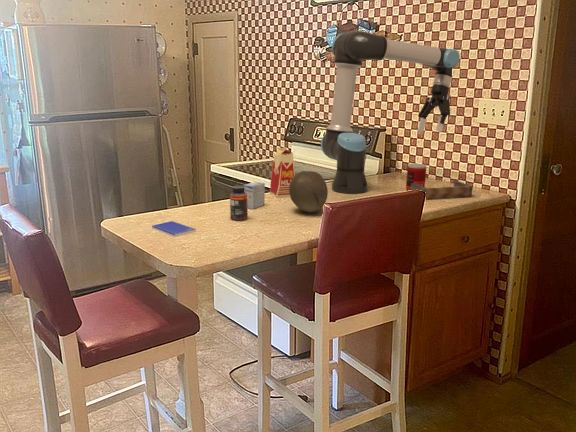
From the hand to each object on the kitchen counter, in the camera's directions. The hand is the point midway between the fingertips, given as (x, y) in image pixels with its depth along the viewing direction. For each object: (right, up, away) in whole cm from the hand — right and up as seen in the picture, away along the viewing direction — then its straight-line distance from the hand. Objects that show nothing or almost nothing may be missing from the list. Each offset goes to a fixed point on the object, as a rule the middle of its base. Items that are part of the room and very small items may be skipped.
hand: (429, 131), depth 258 cm
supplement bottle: (-81, -39, -61) cm, 109 cm away
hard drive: (-100, -43, -75) cm, 132 cm away
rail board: (-1, -30, -22) cm, 37 cm away
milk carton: (-66, -30, -25) cm, 76 cm away
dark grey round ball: (-57, -37, -51) cm, 85 cm away
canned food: (-10, -28, -14) cm, 32 cm away
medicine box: (-76, -35, -45) cm, 95 cm away
